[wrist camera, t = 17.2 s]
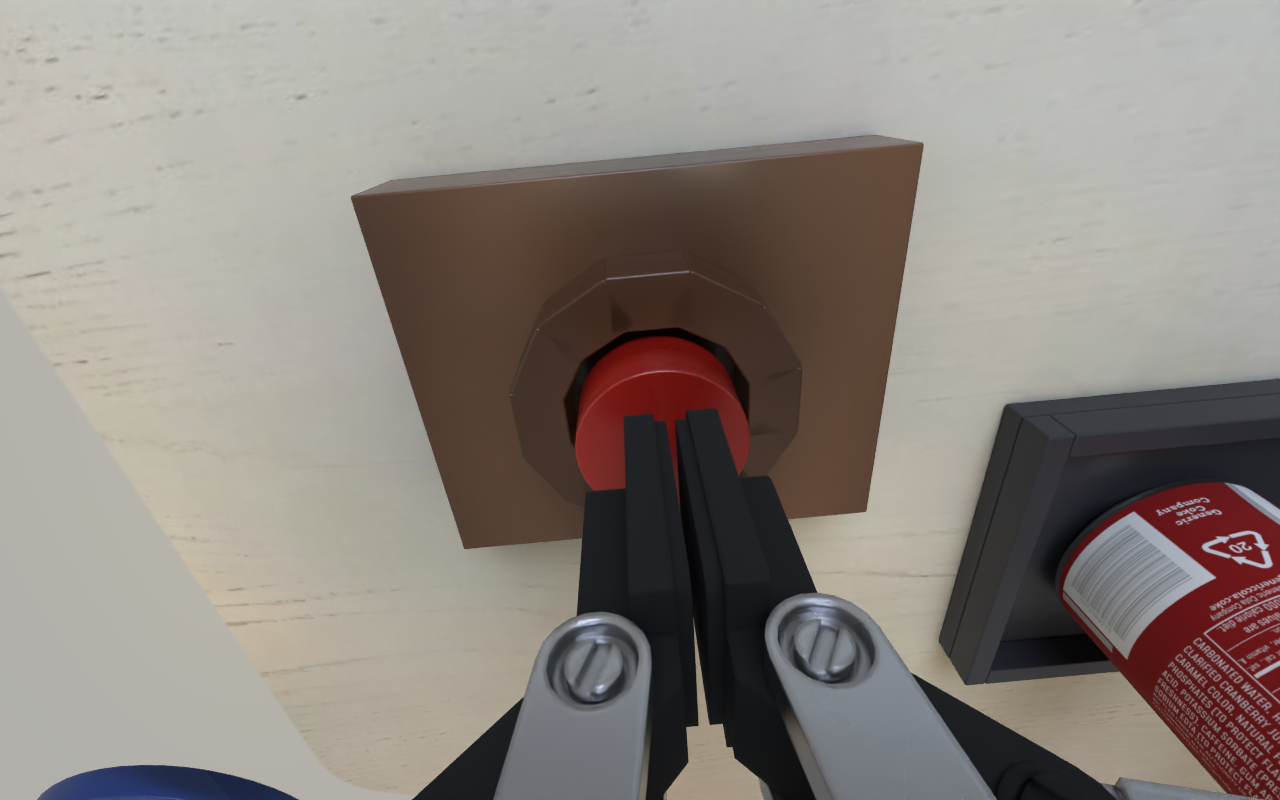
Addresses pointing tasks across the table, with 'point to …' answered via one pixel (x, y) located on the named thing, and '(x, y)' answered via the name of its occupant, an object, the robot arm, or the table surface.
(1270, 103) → the table surface
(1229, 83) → the table surface
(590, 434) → the button
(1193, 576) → the soda can
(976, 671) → the tray
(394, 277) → the switch
